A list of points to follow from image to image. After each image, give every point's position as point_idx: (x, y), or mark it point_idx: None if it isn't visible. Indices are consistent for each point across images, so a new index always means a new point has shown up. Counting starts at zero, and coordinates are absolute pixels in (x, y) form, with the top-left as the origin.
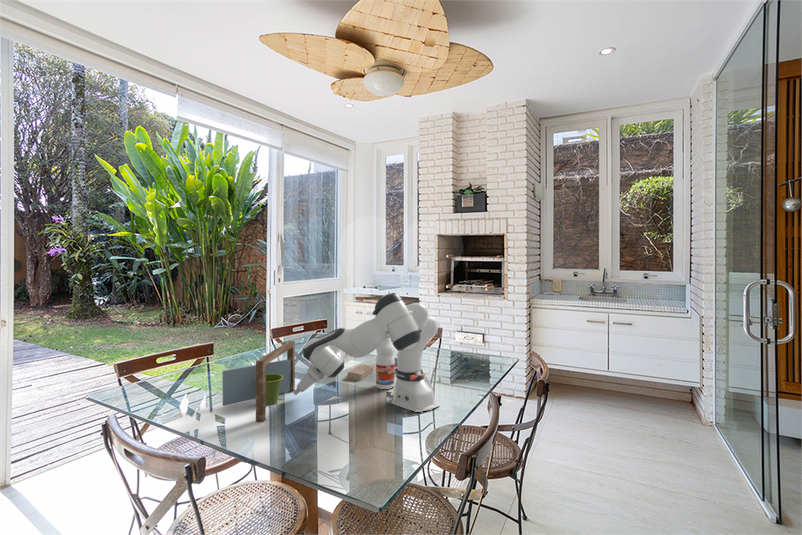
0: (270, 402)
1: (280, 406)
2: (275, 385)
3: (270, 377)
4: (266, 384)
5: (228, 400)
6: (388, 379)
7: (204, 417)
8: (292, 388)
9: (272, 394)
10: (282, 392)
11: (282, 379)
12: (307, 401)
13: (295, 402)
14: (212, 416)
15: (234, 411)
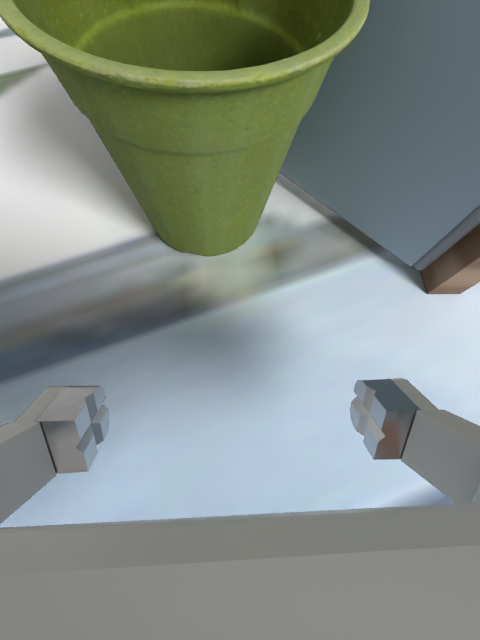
0: (152, 224)
1: (140, 303)
2: (99, 120)
3: (318, 14)
4: (34, 24)
5: None
6: None
7: (13, 45)
8: (445, 274)
9: (132, 187)
10: (364, 233)
11: (430, 141)
12: (265, 491)
13: (228, 386)
14: (19, 62)
15: (73, 112)
